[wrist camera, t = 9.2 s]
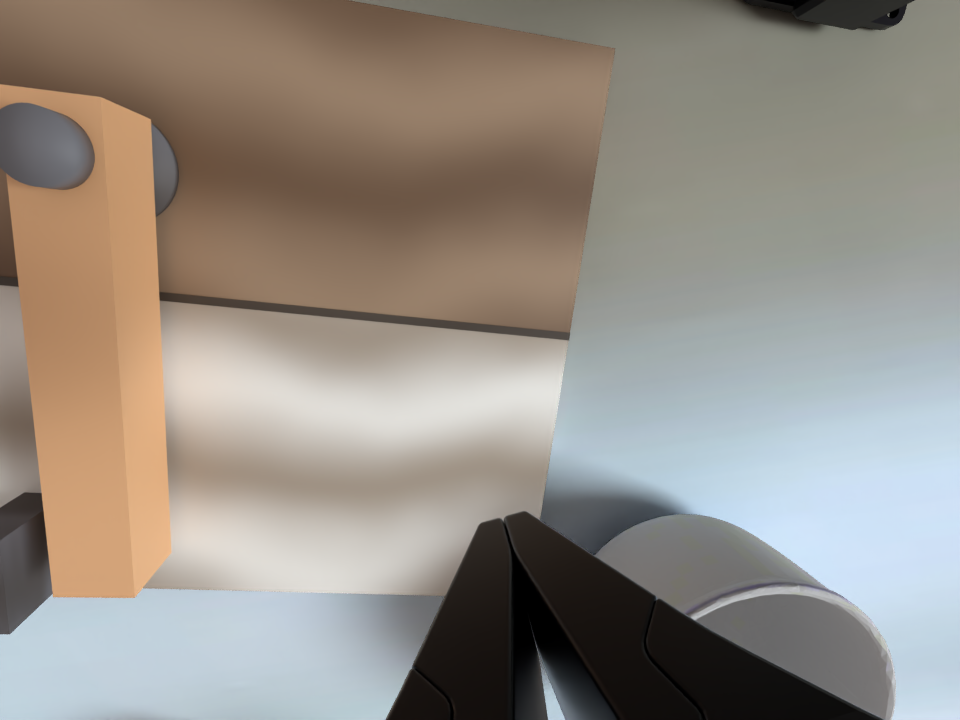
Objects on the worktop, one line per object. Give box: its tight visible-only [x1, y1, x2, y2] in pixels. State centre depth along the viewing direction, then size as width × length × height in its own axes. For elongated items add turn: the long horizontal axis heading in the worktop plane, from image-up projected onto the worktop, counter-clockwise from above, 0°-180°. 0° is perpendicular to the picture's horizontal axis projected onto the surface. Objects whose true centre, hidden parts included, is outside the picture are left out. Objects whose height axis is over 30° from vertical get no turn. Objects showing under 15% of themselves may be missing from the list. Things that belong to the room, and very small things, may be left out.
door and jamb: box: [0, 0, 615, 634], centre depth 17 cm, size 22×23×4 cm
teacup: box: [595, 514, 896, 720], centre depth 21 cm, size 14×11×8 cm
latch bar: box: [0, 84, 172, 598], centre depth 16 cm, size 16×2×3 cm, turn 174°
